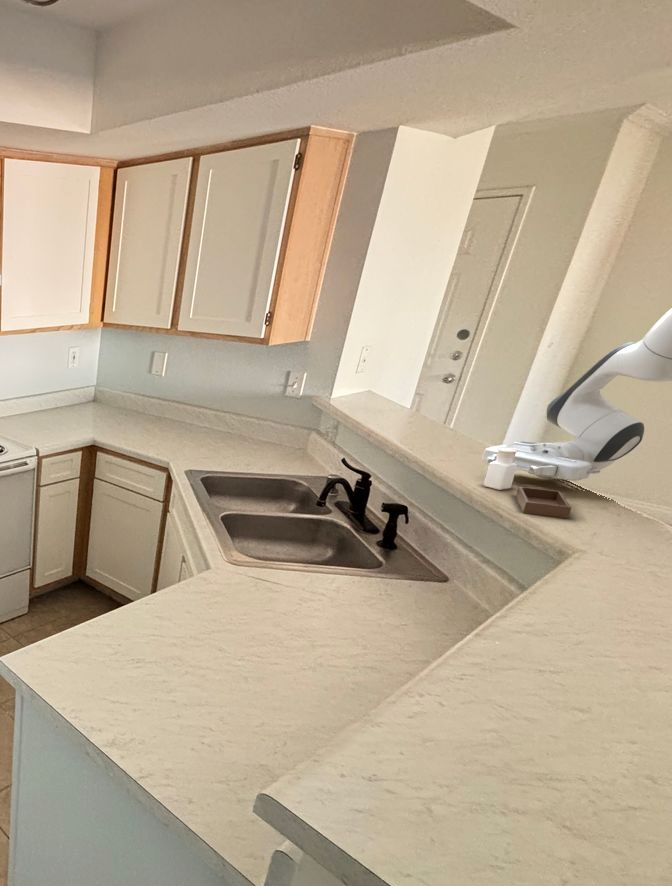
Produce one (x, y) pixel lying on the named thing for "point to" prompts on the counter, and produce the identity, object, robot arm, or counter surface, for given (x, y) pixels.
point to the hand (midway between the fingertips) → (510, 465)
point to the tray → (543, 502)
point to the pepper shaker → (501, 470)
